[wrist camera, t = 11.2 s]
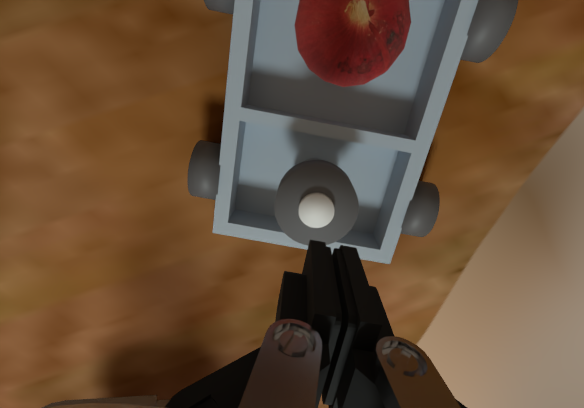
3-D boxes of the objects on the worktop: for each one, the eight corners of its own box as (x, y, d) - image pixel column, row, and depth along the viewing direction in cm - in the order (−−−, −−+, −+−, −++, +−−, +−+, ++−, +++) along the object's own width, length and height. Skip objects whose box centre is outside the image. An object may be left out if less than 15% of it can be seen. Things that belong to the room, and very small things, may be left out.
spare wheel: (283, 152, 19) (281, 162, 16) (362, 167, 19) (369, 179, 17) (271, 224, 20) (267, 241, 18) (343, 237, 21) (348, 256, 18)
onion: (410, 21, 19) (474, -12, 12) (351, 102, 21) (374, 117, 14) (334, -44, 18) (352, -124, 11) (280, 48, 20) (263, 33, 13)
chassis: (226, -100, 18) (206, -146, 15) (500, -43, 19) (548, -73, 15) (202, 208, 26) (184, 229, 22) (400, 244, 26) (416, 270, 22)
